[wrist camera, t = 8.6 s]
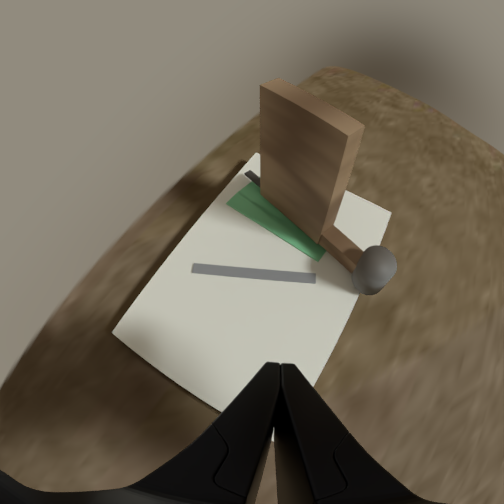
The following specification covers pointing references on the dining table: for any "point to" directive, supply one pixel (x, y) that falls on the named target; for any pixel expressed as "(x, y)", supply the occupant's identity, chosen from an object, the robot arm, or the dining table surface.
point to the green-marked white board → (247, 294)
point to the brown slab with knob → (315, 175)
